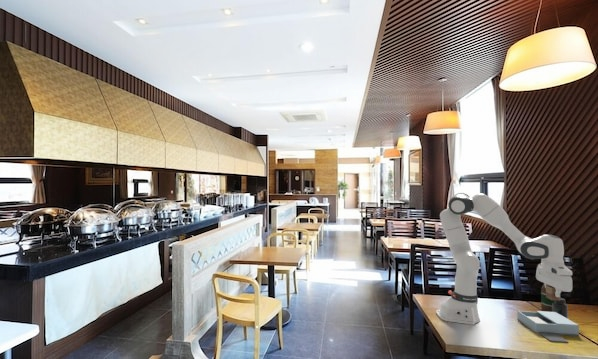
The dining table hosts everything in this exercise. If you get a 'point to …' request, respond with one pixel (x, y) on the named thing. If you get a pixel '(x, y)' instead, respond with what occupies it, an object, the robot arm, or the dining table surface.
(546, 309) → the beer bottle
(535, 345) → the dining table surface
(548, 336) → the pad
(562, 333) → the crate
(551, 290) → the walnut block
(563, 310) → the supplement bottle
